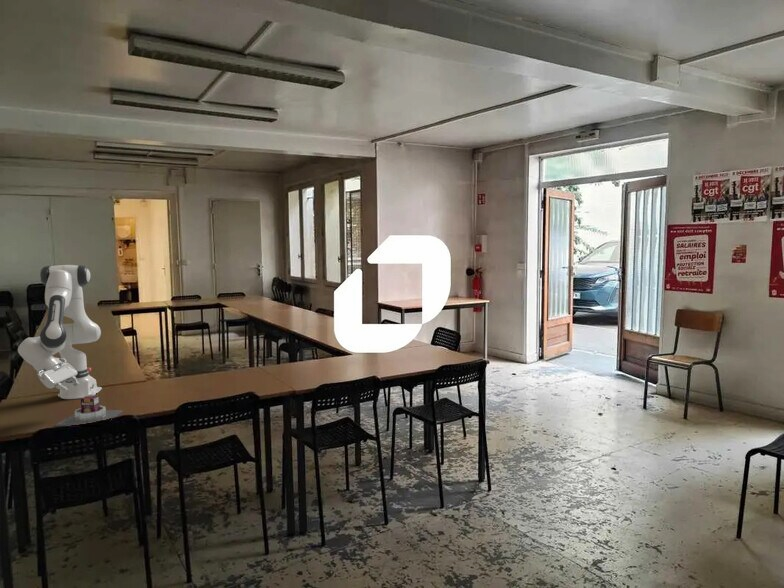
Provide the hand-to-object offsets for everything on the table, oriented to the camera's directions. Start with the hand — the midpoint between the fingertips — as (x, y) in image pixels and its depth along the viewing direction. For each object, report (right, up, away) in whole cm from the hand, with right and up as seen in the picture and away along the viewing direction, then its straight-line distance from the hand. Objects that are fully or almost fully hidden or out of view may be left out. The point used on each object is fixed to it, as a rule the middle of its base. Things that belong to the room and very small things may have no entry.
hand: (72, 388), depth 245 cm
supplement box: (+8, -14, +1) cm, 16 cm away
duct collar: (+8, -14, +1) cm, 17 cm away
